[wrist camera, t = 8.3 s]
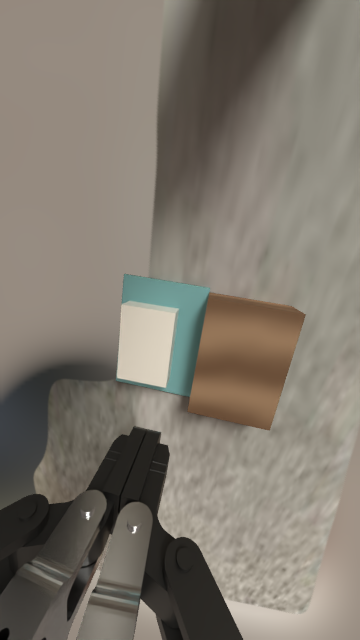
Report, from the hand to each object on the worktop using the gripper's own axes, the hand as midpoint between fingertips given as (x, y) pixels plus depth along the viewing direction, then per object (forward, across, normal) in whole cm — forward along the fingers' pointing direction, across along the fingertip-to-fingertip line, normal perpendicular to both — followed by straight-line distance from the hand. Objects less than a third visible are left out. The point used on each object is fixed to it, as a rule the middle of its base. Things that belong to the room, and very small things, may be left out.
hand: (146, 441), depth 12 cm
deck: (+16, -6, 0) cm, 17 cm away
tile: (+13, +4, +1) cm, 14 cm away
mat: (+16, +3, 0) cm, 16 cm away
